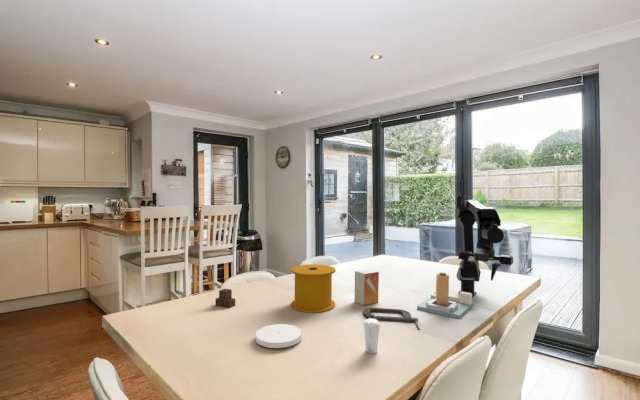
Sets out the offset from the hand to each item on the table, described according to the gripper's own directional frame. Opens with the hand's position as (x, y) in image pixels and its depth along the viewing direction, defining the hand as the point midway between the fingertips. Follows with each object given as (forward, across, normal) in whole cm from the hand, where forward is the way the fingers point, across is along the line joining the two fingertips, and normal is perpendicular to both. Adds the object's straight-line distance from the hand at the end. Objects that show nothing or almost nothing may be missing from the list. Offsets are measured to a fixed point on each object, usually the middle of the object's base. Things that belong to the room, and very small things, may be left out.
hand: (484, 279), depth 131 cm
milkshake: (+12, -18, -59) cm, 63 cm away
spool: (+12, -56, -38) cm, 69 cm away
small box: (+12, -41, -21) cm, 48 cm away
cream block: (+11, -10, 0) cm, 15 cm away
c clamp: (+13, -25, -31) cm, 42 cm away
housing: (+12, -13, -6) cm, 19 cm away
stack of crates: (+13, -84, -59) cm, 103 cm away
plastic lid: (+13, -44, -70) cm, 83 cm away
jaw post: (+11, -13, -11) cm, 20 cm away
